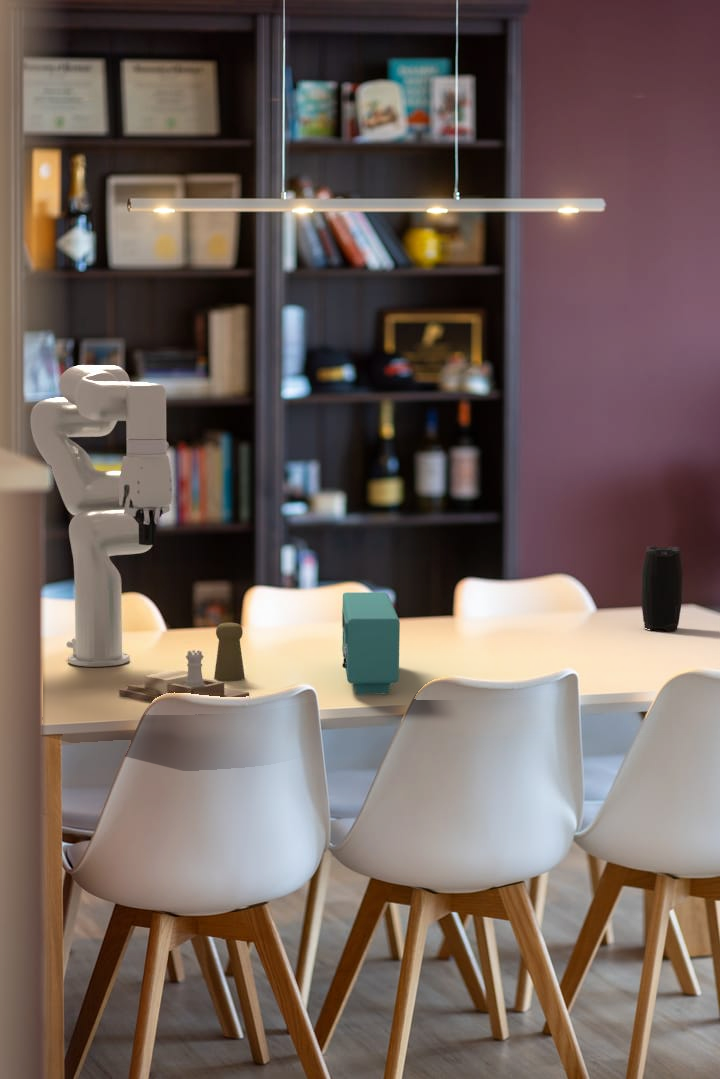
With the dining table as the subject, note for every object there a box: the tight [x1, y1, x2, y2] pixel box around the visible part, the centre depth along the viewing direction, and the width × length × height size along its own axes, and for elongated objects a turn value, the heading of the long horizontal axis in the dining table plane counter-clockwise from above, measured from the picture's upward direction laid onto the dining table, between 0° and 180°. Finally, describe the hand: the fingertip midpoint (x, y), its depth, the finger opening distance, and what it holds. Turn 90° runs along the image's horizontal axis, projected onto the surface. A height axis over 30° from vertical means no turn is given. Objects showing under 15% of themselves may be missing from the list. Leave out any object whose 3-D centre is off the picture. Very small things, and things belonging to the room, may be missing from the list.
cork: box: [213, 622, 246, 682], centre depth 292 cm, size 6×6×11 cm
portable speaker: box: [641, 545, 684, 632], centre depth 351 cm, size 9×9×20 cm
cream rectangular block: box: [143, 669, 188, 694], centre depth 275 cm, size 6×8×3 cm
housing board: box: [118, 678, 250, 703], centre depth 275 cm, size 20×14×3 cm
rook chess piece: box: [184, 649, 206, 687], centre depth 271 cm, size 4×4×8 cm
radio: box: [341, 592, 401, 695], centre depth 291 cm, size 34×10×15 cm, turn 3°
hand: (147, 544), depth 284 cm, fingers closed
